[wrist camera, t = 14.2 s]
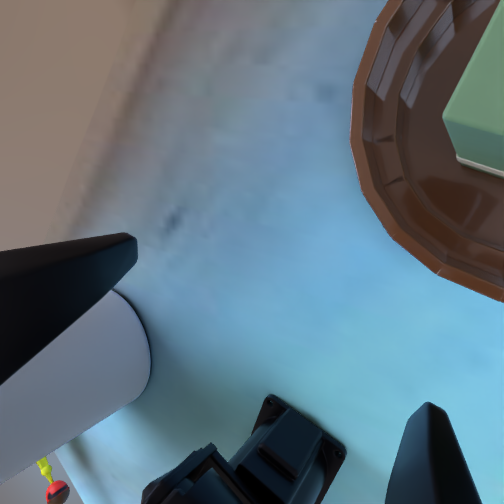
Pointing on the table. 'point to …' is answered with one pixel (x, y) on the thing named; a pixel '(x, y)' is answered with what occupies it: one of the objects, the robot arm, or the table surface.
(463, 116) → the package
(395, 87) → the bowl
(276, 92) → the table surface
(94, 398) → the cylinder vase
